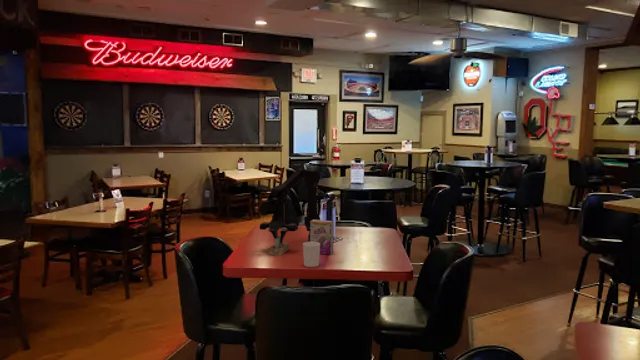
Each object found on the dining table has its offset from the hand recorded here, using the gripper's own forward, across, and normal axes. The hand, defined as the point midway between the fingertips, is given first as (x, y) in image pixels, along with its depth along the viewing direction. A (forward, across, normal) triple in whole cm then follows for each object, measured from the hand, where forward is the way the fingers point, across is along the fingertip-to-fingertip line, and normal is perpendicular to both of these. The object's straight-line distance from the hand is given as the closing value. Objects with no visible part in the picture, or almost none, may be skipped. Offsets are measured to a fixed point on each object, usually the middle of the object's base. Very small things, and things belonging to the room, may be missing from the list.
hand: (278, 243), depth 244 cm
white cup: (+4, +22, -19) cm, 30 cm away
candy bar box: (+4, +22, +3) cm, 22 cm away
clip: (+3, 0, 0) cm, 3 cm away
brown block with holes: (+4, 0, 0) cm, 4 cm away
